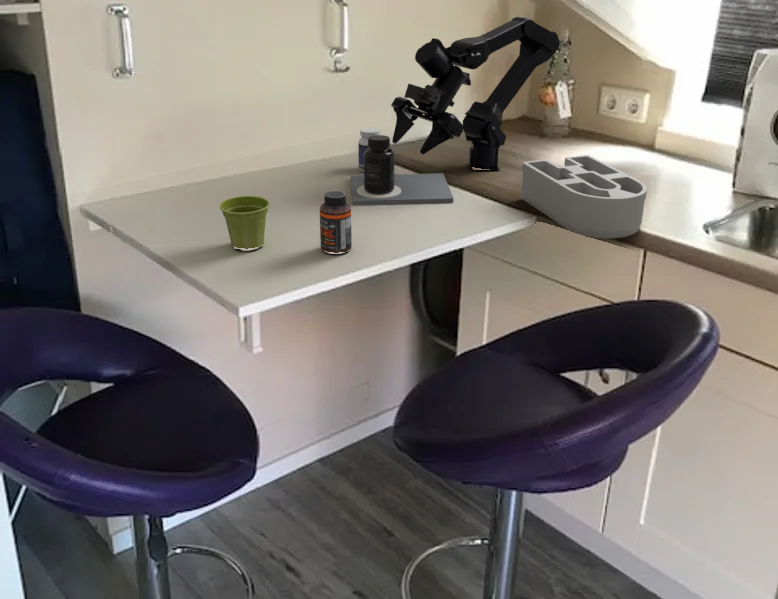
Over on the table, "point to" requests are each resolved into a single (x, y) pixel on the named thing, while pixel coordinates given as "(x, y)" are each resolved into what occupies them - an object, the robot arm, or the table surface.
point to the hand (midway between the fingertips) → (407, 147)
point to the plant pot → (245, 220)
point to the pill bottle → (365, 144)
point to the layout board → (405, 190)
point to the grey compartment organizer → (585, 196)
